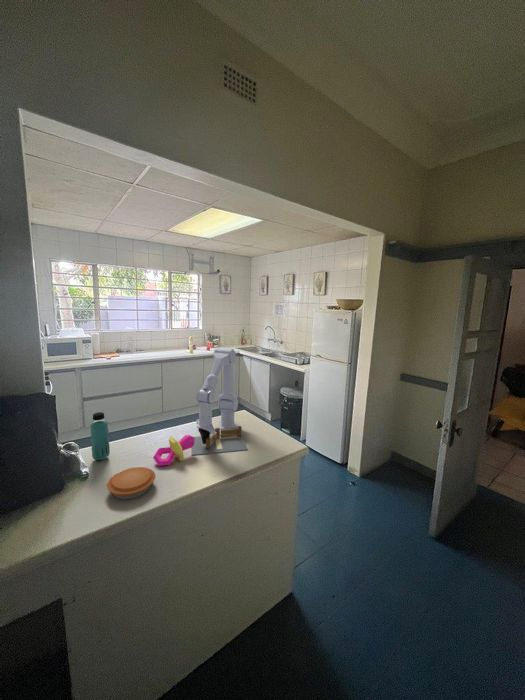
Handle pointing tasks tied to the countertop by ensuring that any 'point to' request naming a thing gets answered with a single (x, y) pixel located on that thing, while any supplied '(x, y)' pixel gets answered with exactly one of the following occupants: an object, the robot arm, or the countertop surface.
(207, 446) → the fence hinged
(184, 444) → the toy
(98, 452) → the beverage bottle
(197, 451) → the card
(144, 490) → the pie
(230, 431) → the fence fixed
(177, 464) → the countertop surface
